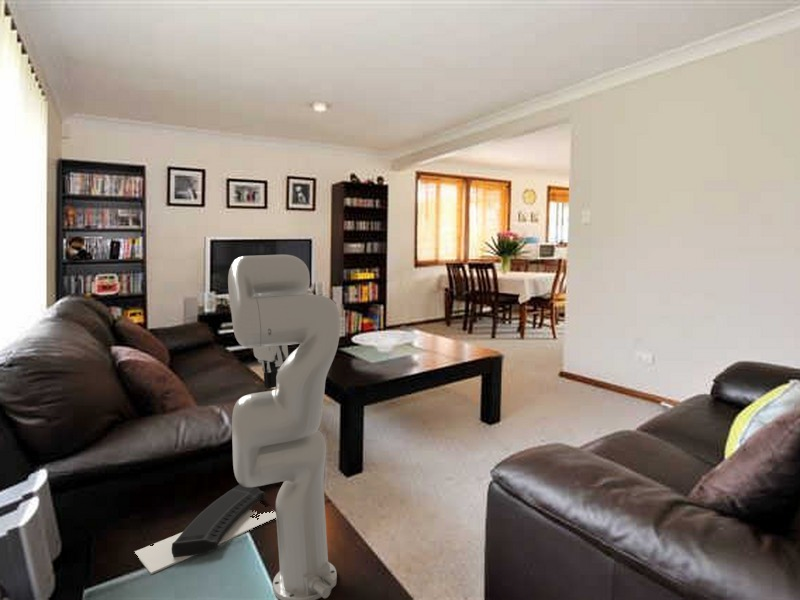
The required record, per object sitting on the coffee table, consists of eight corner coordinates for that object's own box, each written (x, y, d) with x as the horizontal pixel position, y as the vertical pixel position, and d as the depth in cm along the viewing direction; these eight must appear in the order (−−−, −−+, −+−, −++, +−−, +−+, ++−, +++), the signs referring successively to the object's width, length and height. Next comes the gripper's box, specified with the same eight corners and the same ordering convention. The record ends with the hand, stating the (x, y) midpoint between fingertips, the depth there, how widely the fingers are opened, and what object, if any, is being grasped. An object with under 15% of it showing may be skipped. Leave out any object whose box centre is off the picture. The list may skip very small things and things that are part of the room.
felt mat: (280, 516, 124) (280, 515, 124) (151, 574, 103) (150, 572, 103) (258, 502, 133) (258, 501, 133) (134, 553, 111) (134, 551, 111)
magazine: (198, 566, 104) (287, 502, 131) (197, 551, 104) (287, 490, 131) (144, 549, 112) (239, 492, 139) (143, 535, 112) (238, 481, 139)
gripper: (295, 315, 121) (300, 388, 122) (265, 313, 132) (270, 380, 133) (268, 318, 116) (273, 394, 117) (239, 316, 127) (244, 385, 128)
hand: (271, 386), depth 125 cm, fingers closed
